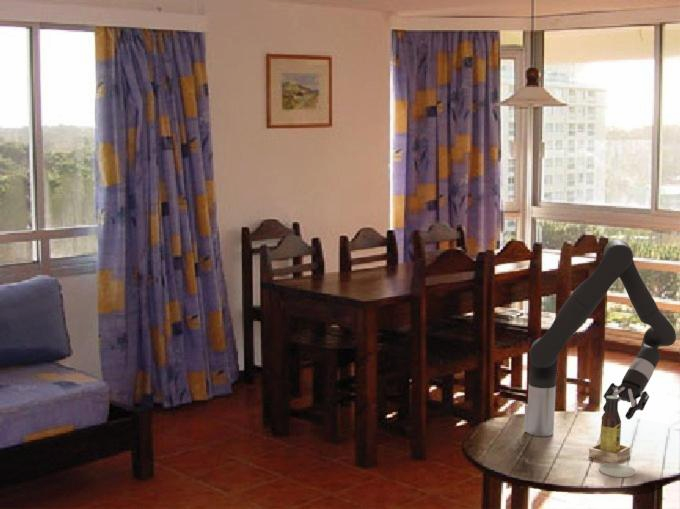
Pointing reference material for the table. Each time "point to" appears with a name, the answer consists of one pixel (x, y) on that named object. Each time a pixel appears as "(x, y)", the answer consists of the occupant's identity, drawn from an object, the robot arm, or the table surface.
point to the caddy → (608, 456)
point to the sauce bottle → (611, 426)
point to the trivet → (617, 470)
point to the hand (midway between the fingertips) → (616, 414)
